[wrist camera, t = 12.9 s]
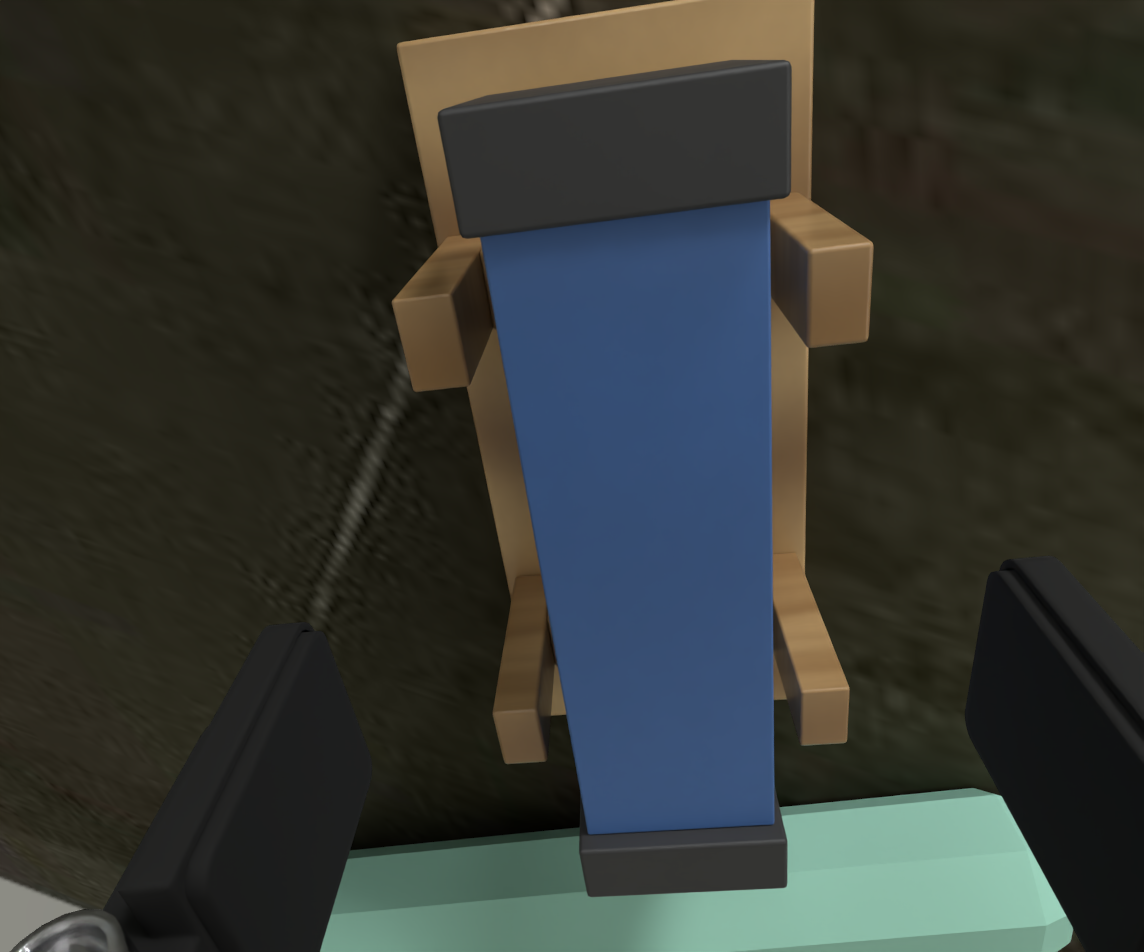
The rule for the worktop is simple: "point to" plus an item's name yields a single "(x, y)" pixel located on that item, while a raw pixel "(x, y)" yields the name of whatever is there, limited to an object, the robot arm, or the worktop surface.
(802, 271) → the holder
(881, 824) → the mint octagonal rod
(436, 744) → the worktop surface
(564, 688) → the handle
